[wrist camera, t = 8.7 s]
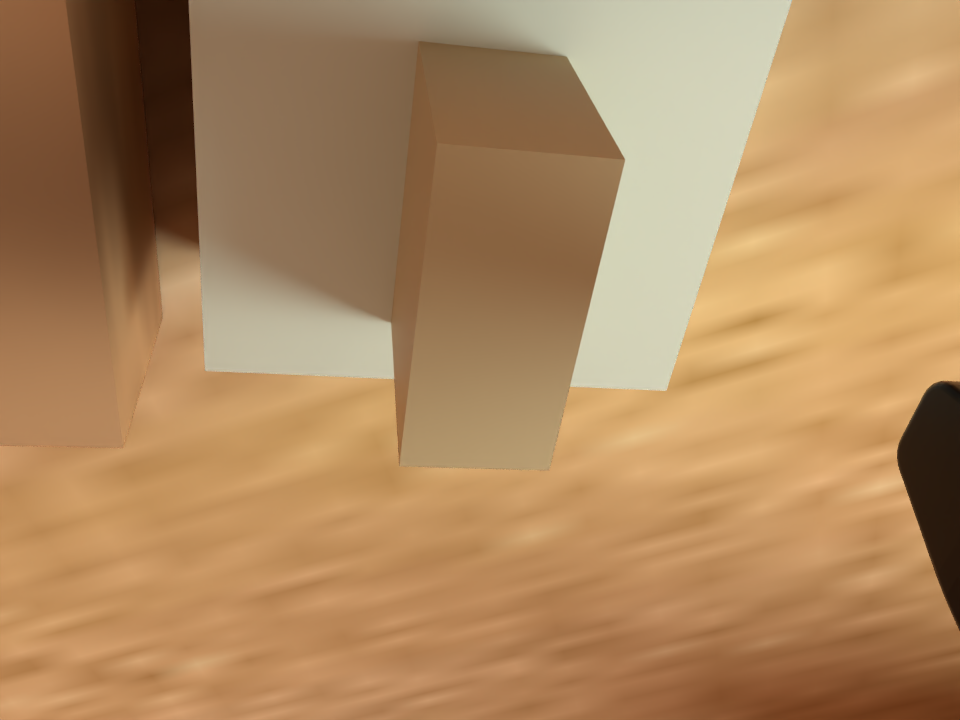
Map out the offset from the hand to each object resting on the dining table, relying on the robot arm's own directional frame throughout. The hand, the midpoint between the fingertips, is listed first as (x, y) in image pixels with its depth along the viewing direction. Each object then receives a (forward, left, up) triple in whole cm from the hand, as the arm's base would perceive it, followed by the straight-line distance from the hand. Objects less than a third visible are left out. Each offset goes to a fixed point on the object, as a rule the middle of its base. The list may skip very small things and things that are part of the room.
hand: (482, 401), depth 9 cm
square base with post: (0, 0, -8) cm, 8 cm away
